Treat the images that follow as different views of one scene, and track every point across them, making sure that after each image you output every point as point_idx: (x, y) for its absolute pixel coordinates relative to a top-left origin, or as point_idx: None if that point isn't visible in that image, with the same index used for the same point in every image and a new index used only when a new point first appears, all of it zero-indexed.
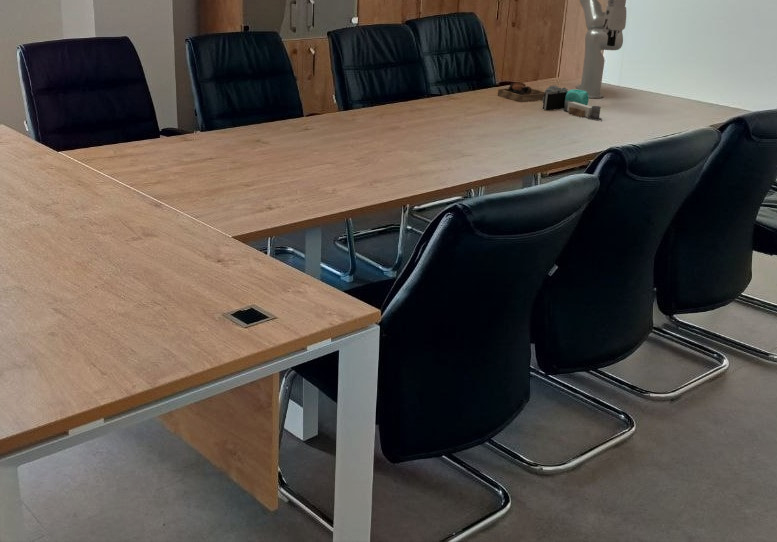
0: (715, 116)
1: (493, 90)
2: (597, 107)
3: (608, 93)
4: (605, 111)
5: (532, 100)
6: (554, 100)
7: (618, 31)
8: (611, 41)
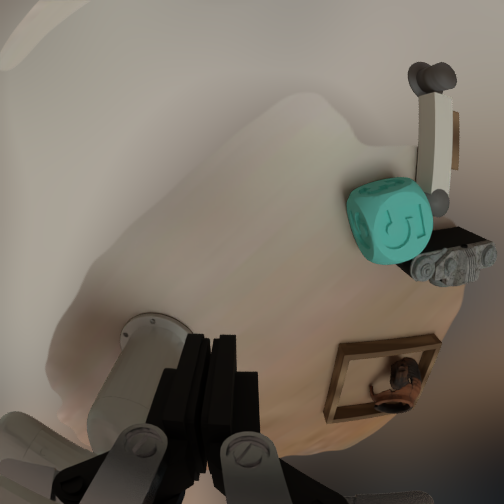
0: (26, 20)
1: (364, 437)
2: (449, 67)
3: (80, 349)
4: (305, 136)
5: (400, 339)
6: (459, 236)
7: (72, 491)
8: (233, 390)
